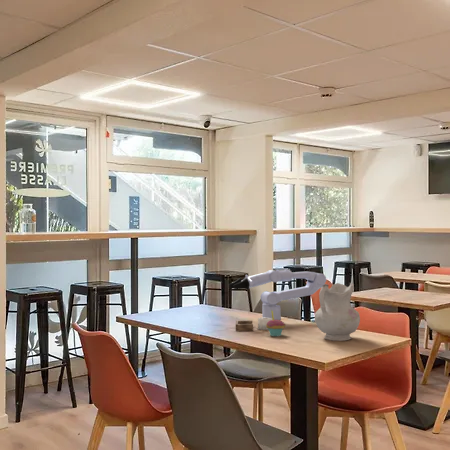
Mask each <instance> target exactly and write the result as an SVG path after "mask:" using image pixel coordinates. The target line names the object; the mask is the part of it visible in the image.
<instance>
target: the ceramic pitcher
mask: <svg viewBox="0 0 450 450" xmlns="http://www.w3.org/2000/svg"><path fill="white" fill-rule="evenodd" d="M354 285H355V284H354V283H352V282H349V286H346V285H345V284H342V283H340V282H337V283H334V284H332V285H331V287H330V288H329V286H330V285H329V284H328V283H325V284H324V285H323V287H321V288H320V289H319V294H318V298H319V304H320V305H319V306H320V307H319V308H318V310H316V311H315V314H314V322H315V324H316V327H317V329H318V330H319V331H321V332H322V333H324V334H325V335H324V339H325V340H328V341H333V342H337V341H338V342H345V341H349V340H352V339H353V338H352V337H351V336H350V335H352V334H353V333H355V332H356V330H357V329H358V328H359V326H360V322H361V317H360V312H359V311H357V310H356V309H355V308H354V307H353V306H352V304H351V298H352V295H353V292H354V288H355V287H354Z"/></svg>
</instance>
